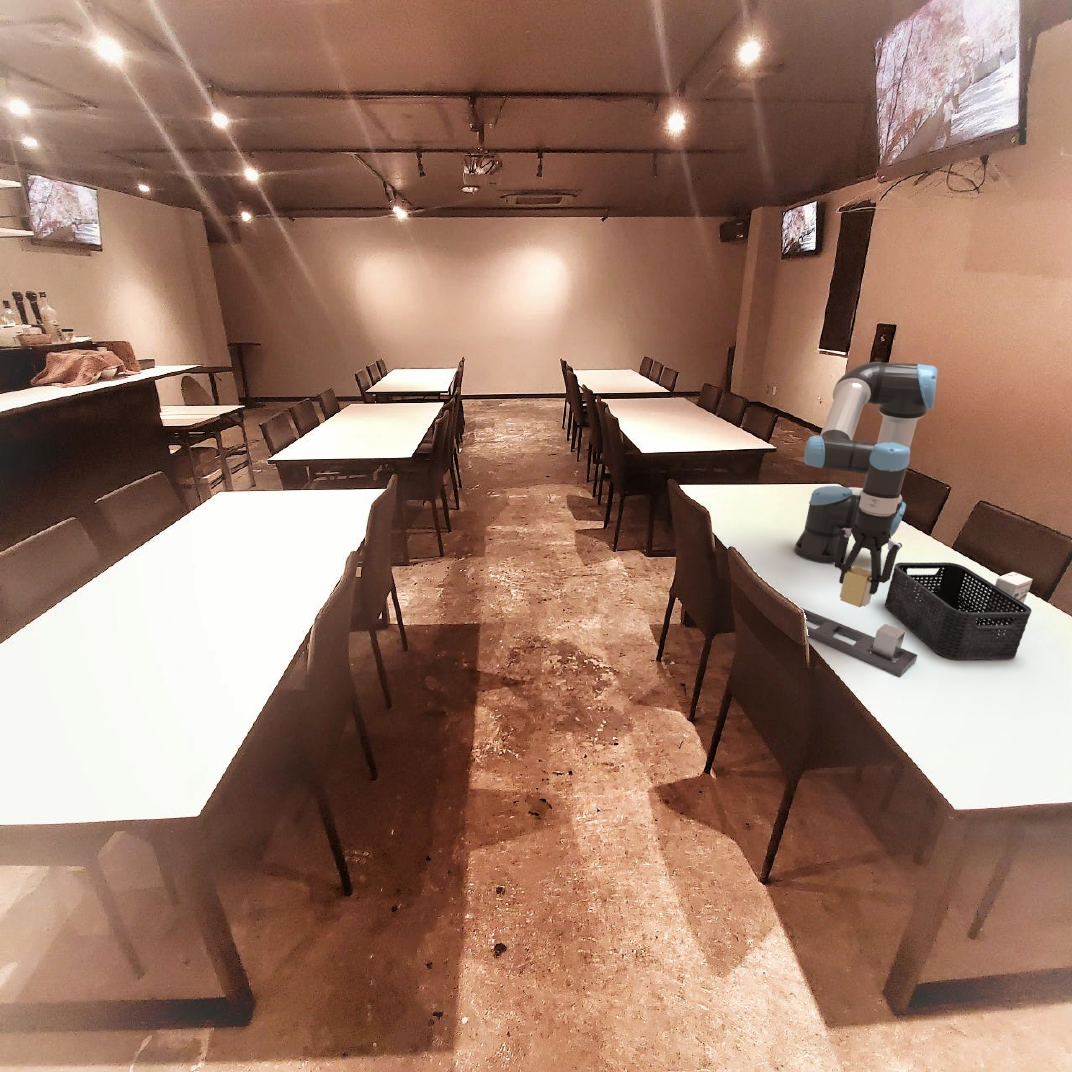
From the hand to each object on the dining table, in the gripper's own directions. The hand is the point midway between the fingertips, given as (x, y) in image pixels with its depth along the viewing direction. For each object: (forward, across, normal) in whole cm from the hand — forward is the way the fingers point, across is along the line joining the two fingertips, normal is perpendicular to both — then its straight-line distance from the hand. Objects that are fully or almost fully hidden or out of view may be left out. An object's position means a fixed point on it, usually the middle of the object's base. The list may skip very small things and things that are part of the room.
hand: (854, 599), depth 145 cm
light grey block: (+13, +9, 0) cm, 16 cm away
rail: (+12, 0, 0) cm, 12 cm away
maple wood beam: (0, 0, 0) cm, 0 cm away
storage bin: (+13, +14, +27) cm, 33 cm away
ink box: (+12, +22, +47) cm, 54 cm away
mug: (+12, -34, +86) cm, 94 cm away
